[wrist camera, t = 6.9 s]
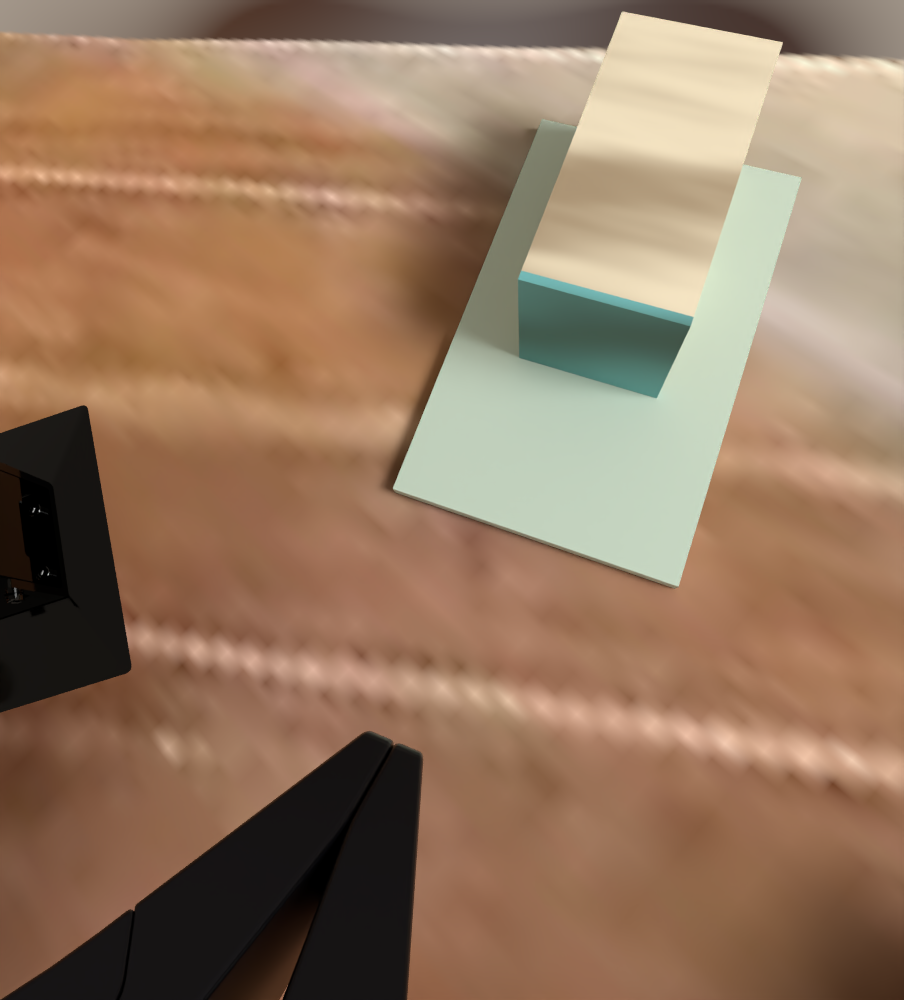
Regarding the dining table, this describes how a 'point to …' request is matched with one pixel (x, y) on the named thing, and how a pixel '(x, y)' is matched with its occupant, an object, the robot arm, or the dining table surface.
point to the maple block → (641, 201)
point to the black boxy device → (55, 564)
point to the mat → (593, 397)
